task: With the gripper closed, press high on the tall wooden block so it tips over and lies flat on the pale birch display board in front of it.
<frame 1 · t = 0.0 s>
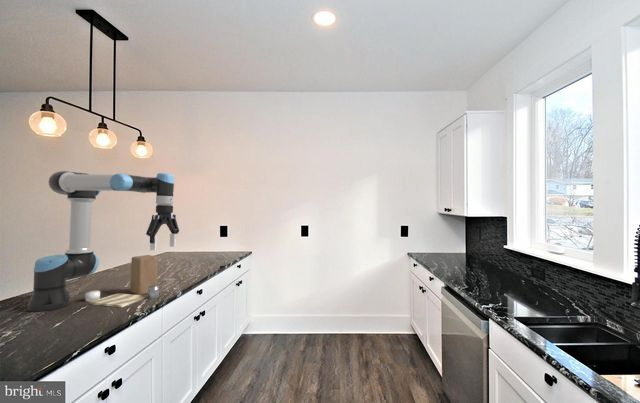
hand: (163, 248, 147), 28 cm above the worktop, fingers open, 13 cm apart
tin: (153, 297, 160), on the worktop
board: (119, 300, 153), on the worktop
white rounded lump: (92, 300, 154), on the worktop
wooden block: (143, 292, 169), on the worktop
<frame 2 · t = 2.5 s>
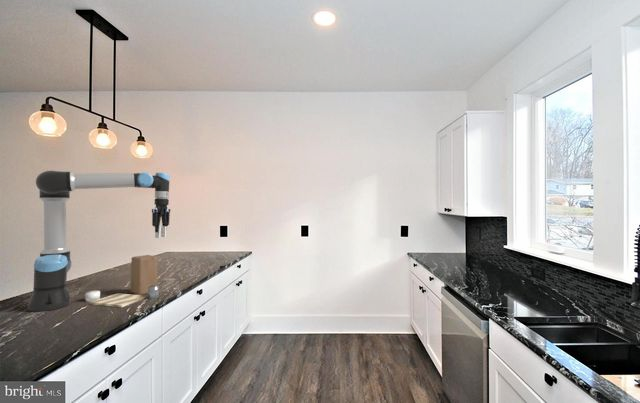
hand: (160, 237, 181), 30 cm above the worktop, fingers open, 4 cm apart
nothing on the worktop moved.
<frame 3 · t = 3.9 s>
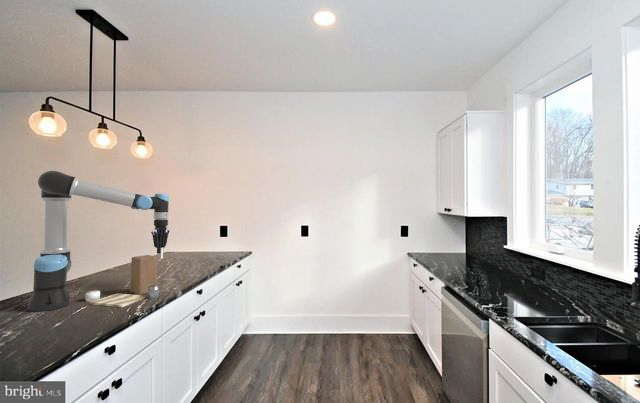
hand: (159, 258, 181), 17 cm above the worktop, fingers closed
nothing on the worktop moved.
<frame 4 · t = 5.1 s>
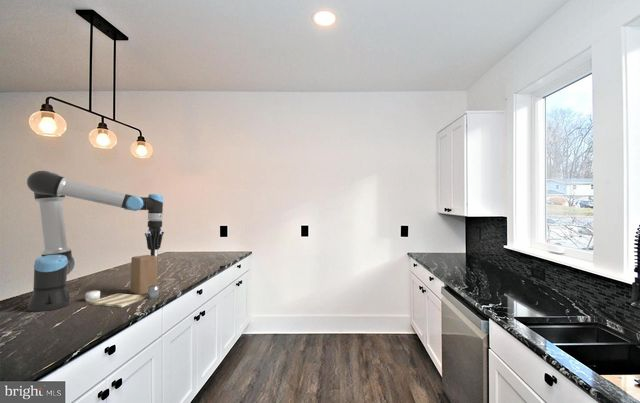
hand: (153, 260, 176), 16 cm above the worktop, fingers closed
wooden block: (143, 292, 169), on the worktop, touching gripper
everything else where it was.
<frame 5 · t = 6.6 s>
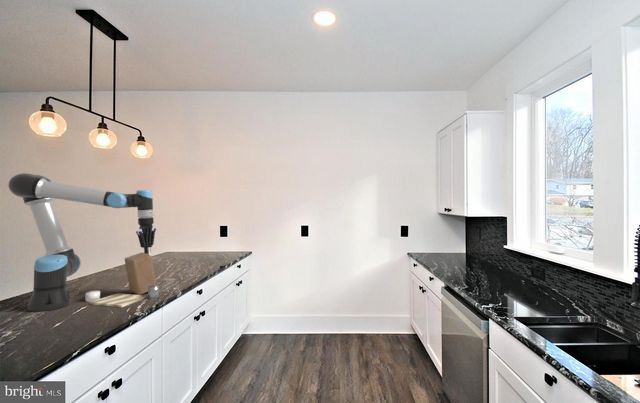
hand: (147, 258, 171), 18 cm above the worktop, fingers closed
wooden block: (143, 290, 169), point 1 cm above the worktop, touching gripper
everything else where it was.
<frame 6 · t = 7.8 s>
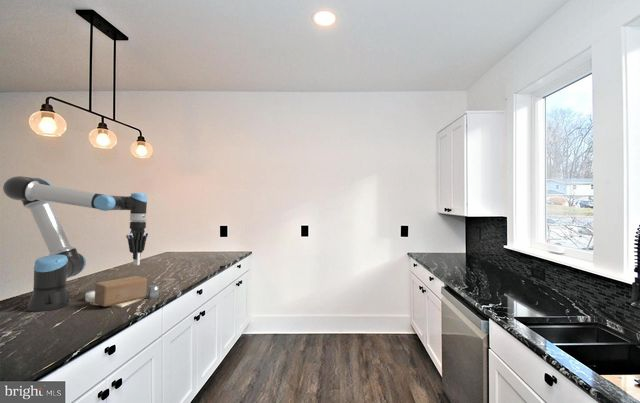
hand: (136, 264, 163), 16 cm above the worktop, fingers closed
wooden block: (142, 285, 160), point 6 cm above the worktop, touching board
everything else where it was.
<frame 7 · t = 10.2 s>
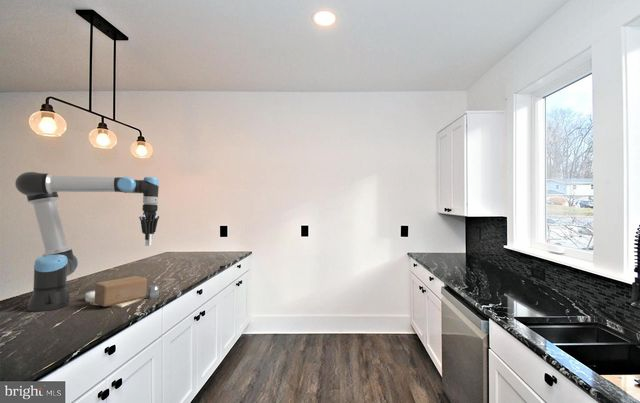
hand: (148, 245, 172), 26 cm above the worktop, fingers closed
nothing on the worktop moved.
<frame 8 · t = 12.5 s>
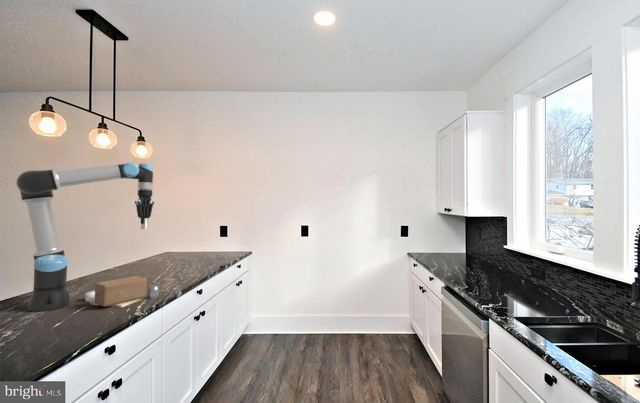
hand: (143, 229, 180), 34 cm above the worktop, fingers closed
nothing on the worktop moved.
at the end: wooden block tilted 90°; wooden block inside the target area (7.8 cm from its centre), point 6.0 cm above the worktop; wooden block touching board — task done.
